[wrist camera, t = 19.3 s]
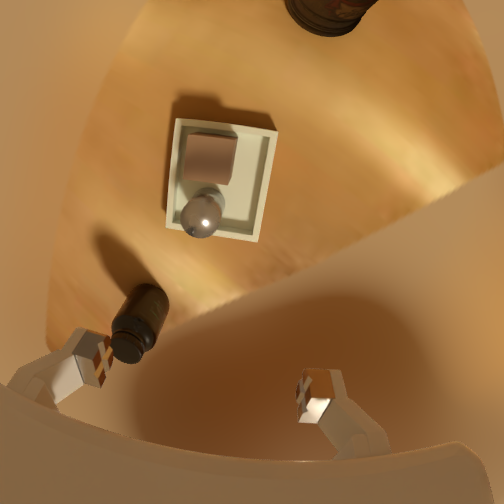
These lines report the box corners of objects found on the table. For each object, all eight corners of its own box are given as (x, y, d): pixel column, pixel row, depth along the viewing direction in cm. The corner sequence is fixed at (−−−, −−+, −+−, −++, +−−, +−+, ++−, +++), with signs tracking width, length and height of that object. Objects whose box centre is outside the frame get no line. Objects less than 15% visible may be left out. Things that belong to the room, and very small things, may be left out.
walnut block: (197, 131, 34) (187, 134, 29) (238, 137, 34) (234, 140, 29) (192, 170, 36) (182, 179, 31) (231, 176, 36) (227, 185, 32)
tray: (181, 118, 34) (175, 118, 32) (277, 131, 34) (278, 131, 32) (170, 221, 40) (165, 227, 38) (257, 235, 40) (257, 242, 38)
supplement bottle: (135, 316, 47) (109, 365, 36) (126, 281, 44) (95, 329, 33) (173, 318, 47) (153, 372, 36) (166, 283, 44) (142, 334, 33)
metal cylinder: (193, 185, 37) (181, 197, 31) (227, 189, 37) (221, 203, 31) (190, 217, 39) (178, 234, 33) (223, 222, 39) (216, 240, 33)
